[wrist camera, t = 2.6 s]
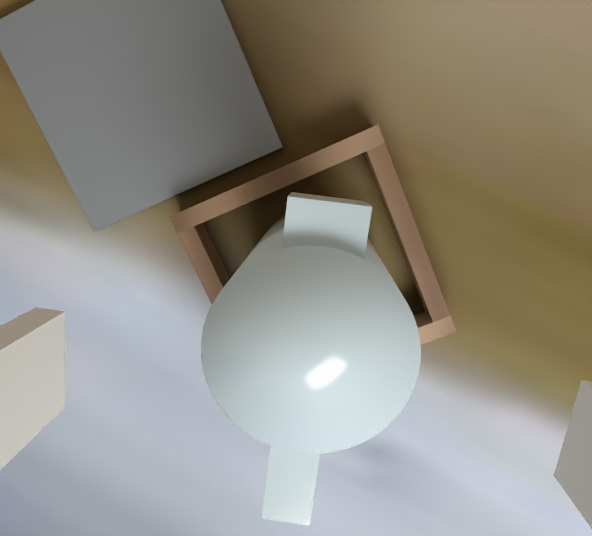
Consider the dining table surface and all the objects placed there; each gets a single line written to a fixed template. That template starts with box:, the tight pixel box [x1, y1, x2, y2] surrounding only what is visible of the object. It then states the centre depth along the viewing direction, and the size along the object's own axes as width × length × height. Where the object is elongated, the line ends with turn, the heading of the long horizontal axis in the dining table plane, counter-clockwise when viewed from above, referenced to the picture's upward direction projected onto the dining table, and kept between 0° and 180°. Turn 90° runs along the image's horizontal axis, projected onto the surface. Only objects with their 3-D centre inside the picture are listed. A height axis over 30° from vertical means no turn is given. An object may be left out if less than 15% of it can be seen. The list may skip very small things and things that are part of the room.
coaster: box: [0, 0, 283, 231], centre depth 25 cm, size 12×12×1 cm
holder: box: [170, 125, 456, 345], centre depth 26 cm, size 12×12×2 cm
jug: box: [201, 192, 421, 525], centre depth 22 cm, size 13×7×13 cm, turn 173°
